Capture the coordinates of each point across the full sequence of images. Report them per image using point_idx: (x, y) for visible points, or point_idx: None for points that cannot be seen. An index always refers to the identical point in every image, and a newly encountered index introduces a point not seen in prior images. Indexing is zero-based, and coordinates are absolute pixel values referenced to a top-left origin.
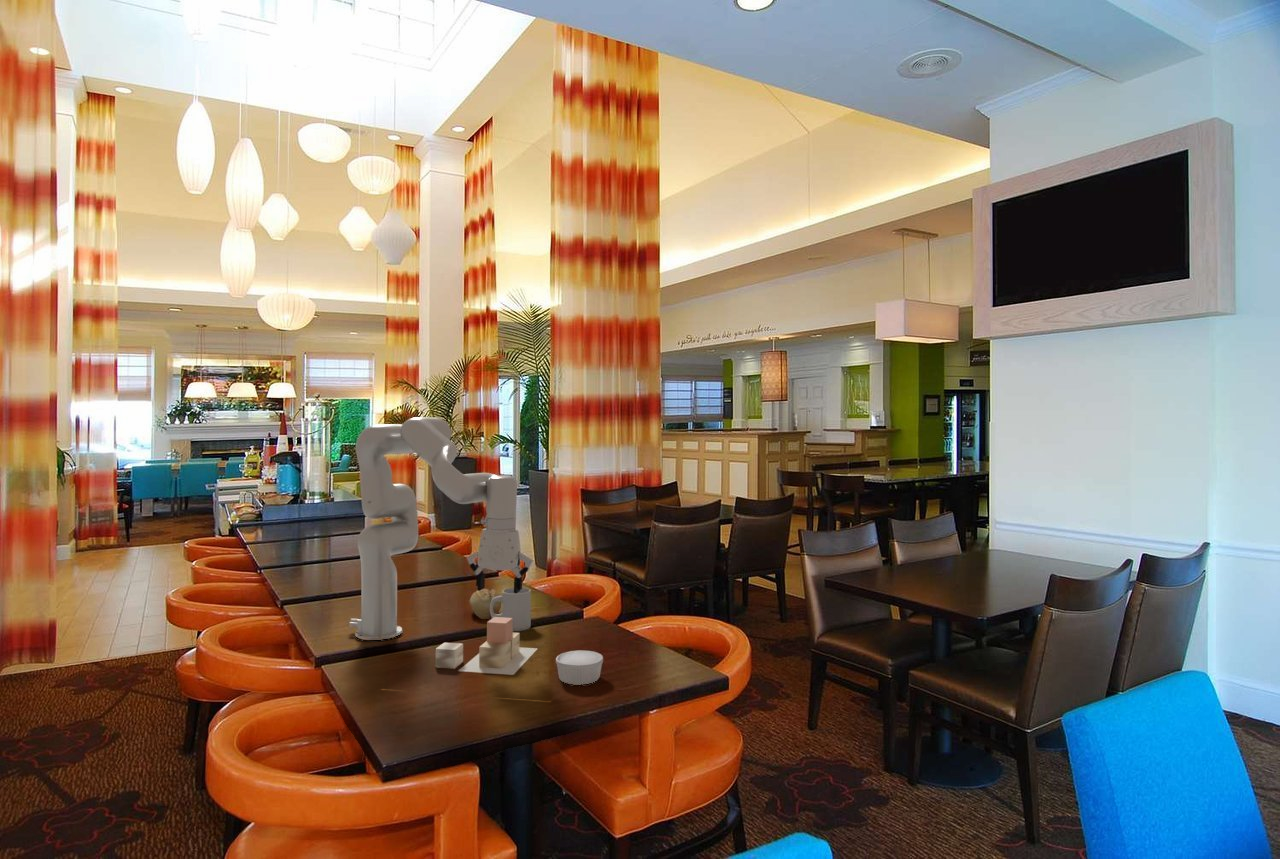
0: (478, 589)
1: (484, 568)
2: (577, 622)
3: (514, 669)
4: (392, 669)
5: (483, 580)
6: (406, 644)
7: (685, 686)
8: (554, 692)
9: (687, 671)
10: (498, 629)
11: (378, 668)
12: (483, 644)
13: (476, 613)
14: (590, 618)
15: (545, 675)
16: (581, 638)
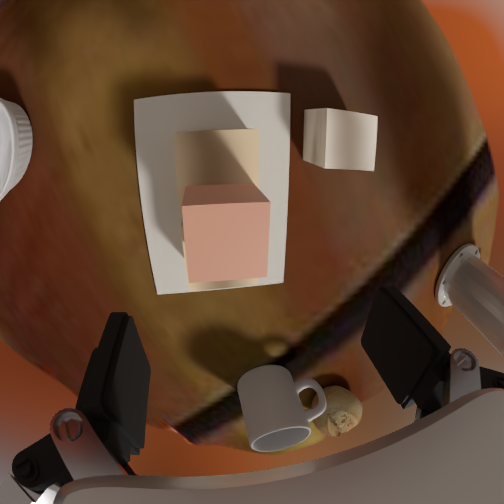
0: (389, 287)
1: (464, 399)
2: (169, 415)
3: (144, 134)
4: (418, 109)
5: (388, 362)
6: (427, 247)
7: None
8: (28, 57)
9: None
10: (214, 196)
11: (437, 115)
12: (255, 156)
13: (344, 388)
14: (161, 427)
15: (64, 133)
16: None
